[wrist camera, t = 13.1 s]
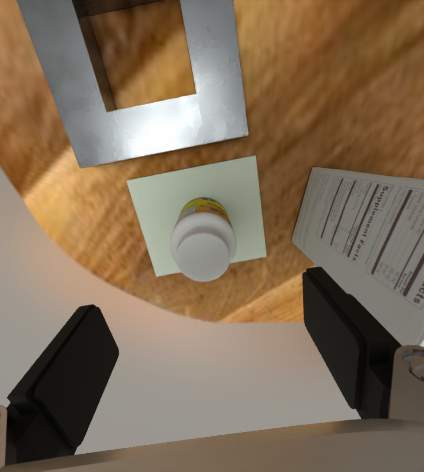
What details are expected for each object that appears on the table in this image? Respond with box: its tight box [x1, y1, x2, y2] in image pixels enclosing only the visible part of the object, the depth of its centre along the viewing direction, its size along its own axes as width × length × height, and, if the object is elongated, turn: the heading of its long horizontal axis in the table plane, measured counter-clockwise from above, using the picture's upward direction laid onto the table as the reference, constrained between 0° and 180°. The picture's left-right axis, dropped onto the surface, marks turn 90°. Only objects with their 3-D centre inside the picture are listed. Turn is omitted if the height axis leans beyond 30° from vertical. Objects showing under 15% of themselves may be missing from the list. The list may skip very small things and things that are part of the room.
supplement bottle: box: [170, 197, 237, 282], centre depth 21 cm, size 6×6×10 cm
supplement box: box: [291, 167, 424, 347], centre depth 18 cm, size 10×9×17 cm
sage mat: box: [127, 155, 267, 277], centre depth 26 cm, size 14×12×1 cm
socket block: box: [17, 0, 248, 168], centre depth 19 cm, size 16×16×3 cm
